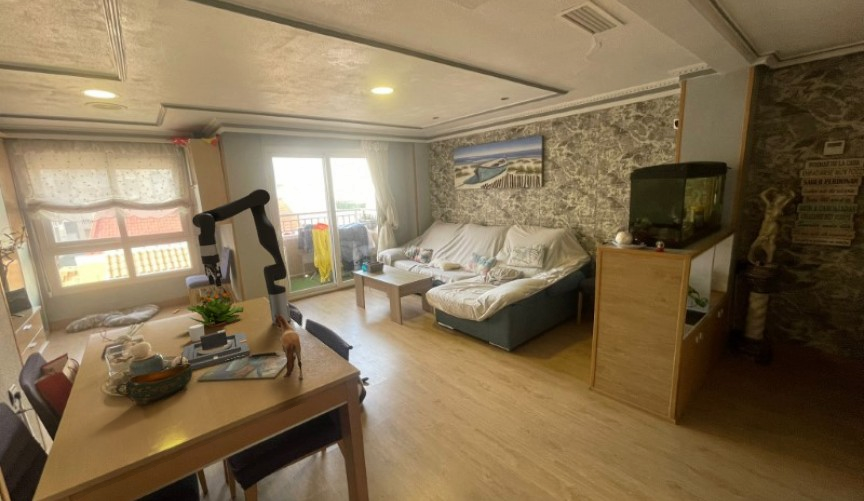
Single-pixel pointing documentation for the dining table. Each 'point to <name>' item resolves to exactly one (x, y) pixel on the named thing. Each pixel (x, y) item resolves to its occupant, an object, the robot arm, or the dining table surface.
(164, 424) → the dining table surface
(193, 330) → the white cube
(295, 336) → the horse figurine
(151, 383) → the dark green oval bowl
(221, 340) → the dial
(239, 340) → the dial board
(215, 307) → the potted flower
